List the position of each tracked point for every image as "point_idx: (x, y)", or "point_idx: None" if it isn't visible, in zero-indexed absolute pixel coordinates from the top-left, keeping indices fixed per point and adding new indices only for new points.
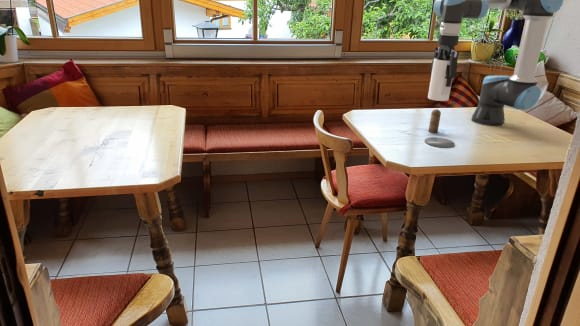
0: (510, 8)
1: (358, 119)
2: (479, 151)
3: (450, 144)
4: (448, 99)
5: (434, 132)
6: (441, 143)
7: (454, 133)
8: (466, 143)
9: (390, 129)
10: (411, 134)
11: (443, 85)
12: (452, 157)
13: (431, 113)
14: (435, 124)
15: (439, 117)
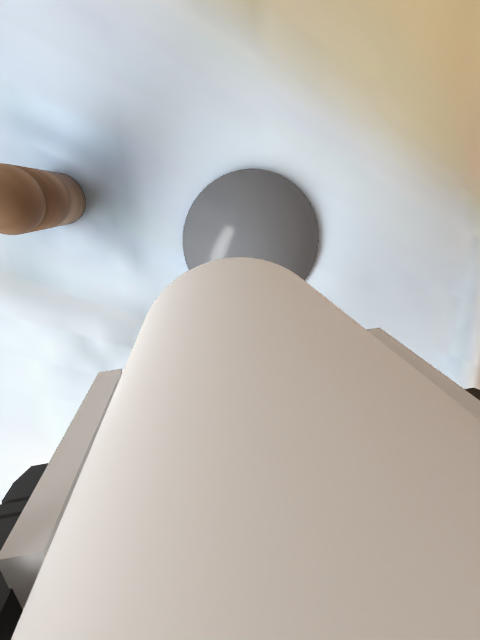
0: None
1: None
2: (372, 80)
3: (291, 203)
4: (297, 275)
5: (84, 201)
6: (276, 244)
7: (69, 65)
8: (253, 87)
9: (62, 405)
10: (128, 331)
11: None
12: (422, 259)
13: (7, 234)
14: (68, 204)
15: (41, 180)
